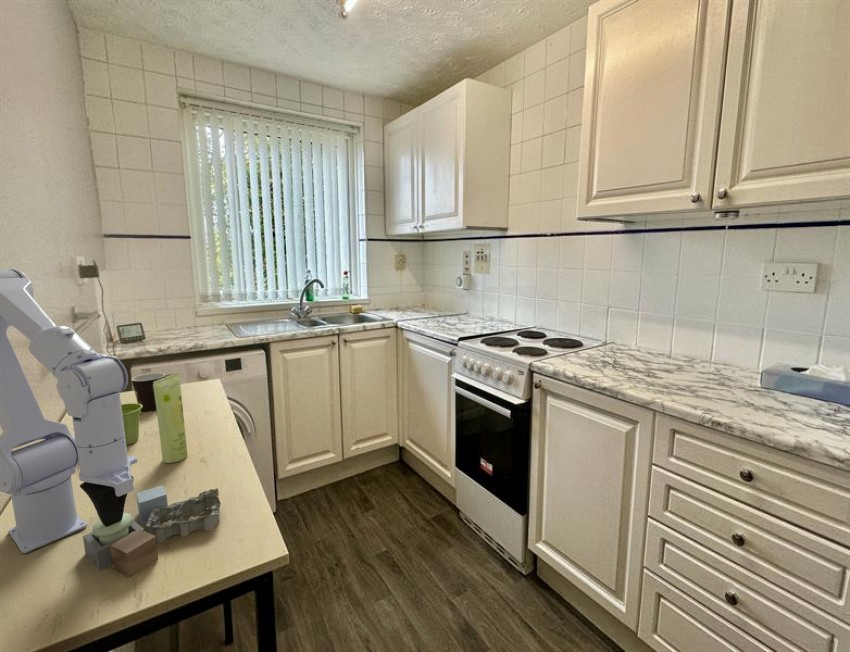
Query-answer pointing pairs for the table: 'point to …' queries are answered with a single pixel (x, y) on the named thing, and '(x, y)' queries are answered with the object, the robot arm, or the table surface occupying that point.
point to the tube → (170, 418)
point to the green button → (112, 530)
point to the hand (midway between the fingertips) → (112, 522)
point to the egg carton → (180, 509)
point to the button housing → (103, 547)
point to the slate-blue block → (150, 501)
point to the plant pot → (131, 421)
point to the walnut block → (134, 553)
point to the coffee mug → (146, 390)
